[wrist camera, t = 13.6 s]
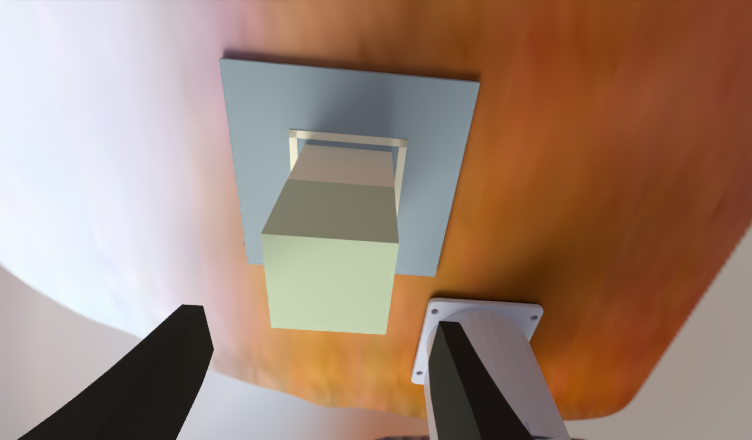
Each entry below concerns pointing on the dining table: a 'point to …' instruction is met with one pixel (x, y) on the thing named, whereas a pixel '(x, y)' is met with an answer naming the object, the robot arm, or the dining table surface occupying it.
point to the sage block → (331, 256)
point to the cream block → (344, 166)
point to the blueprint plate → (349, 141)
